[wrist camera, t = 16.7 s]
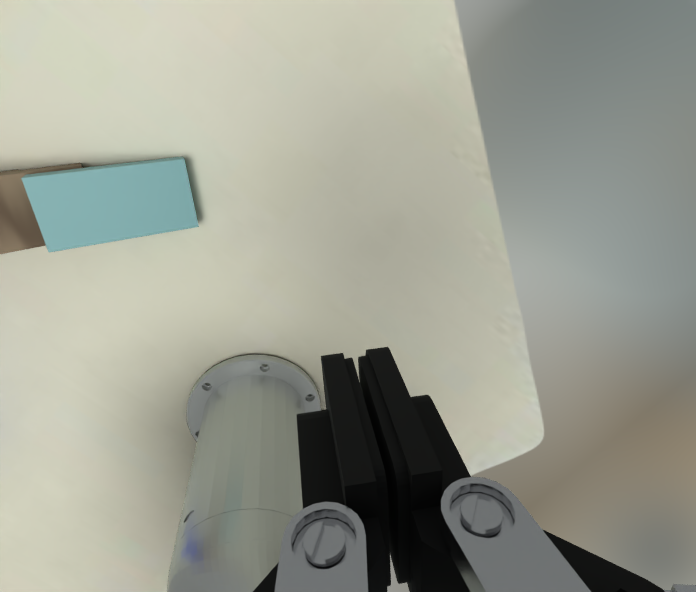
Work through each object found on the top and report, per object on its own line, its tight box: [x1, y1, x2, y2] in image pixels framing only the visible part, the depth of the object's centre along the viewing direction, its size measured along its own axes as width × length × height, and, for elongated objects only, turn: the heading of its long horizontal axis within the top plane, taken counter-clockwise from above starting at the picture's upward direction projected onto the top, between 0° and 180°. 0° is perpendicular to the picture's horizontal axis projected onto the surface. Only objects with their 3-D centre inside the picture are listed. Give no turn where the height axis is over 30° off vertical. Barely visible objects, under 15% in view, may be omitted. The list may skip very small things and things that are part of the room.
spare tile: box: [21, 157, 199, 252], centre depth 32 cm, size 5×2×10 cm
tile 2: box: [0, 163, 82, 254], centre depth 31 cm, size 5×2×10 cm
